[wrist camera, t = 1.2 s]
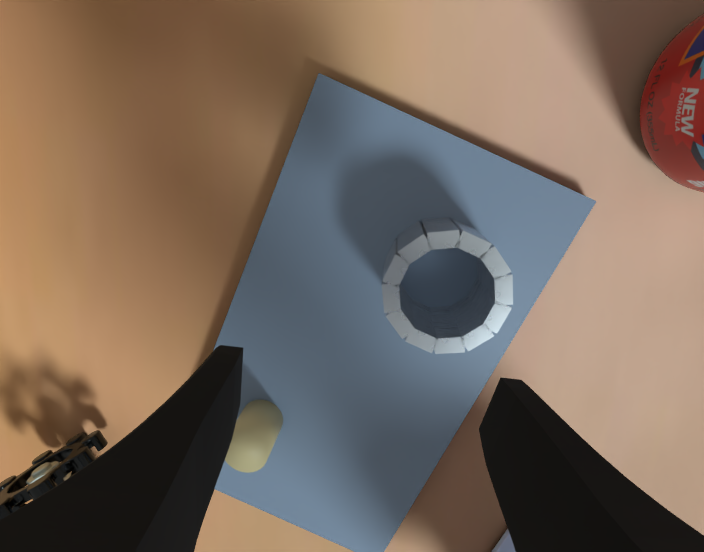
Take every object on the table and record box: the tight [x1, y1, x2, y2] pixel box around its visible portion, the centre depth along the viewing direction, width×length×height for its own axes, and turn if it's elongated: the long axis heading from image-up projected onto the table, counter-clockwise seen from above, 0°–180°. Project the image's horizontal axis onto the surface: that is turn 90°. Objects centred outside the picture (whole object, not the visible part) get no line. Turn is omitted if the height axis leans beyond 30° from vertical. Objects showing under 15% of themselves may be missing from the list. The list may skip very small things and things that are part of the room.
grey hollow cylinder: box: [382, 217, 513, 354], centre depth 19 cm, size 5×5×4 cm
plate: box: [213, 73, 596, 552], centre depth 22 cm, size 14×24×4 cm, turn 156°
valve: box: [0, 430, 108, 520], centre depth 26 cm, size 7×7×12 cm
